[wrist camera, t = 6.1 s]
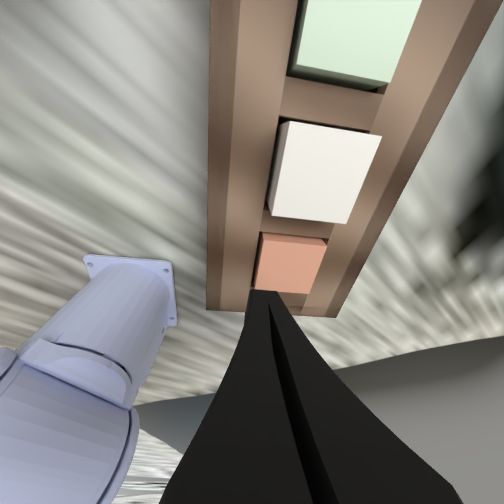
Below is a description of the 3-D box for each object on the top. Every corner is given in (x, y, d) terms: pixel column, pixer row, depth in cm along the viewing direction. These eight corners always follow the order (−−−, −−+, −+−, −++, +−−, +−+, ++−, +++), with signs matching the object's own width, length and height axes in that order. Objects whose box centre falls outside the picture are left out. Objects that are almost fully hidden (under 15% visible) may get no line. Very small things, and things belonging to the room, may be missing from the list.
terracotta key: (298, 268, 18) (308, 293, 15) (252, 264, 18) (254, 289, 15) (311, 225, 16) (327, 246, 13) (259, 220, 16) (263, 240, 13)
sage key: (352, 96, 12) (390, 82, 9) (282, 83, 11) (296, 64, 8) (388, -17, 9) (455, -87, 6) (302, -39, 9) (331, -126, 6)
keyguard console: (320, 287, 22) (335, 317, 18) (212, 278, 20) (206, 309, 17) (473, -84, 9) (621, -225, 6) (228, -160, 8) (215, -401, 4)
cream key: (324, 205, 14) (345, 224, 11) (265, 198, 14) (271, 215, 11) (347, 136, 12) (382, 136, 9) (277, 124, 11) (290, 120, 8)
